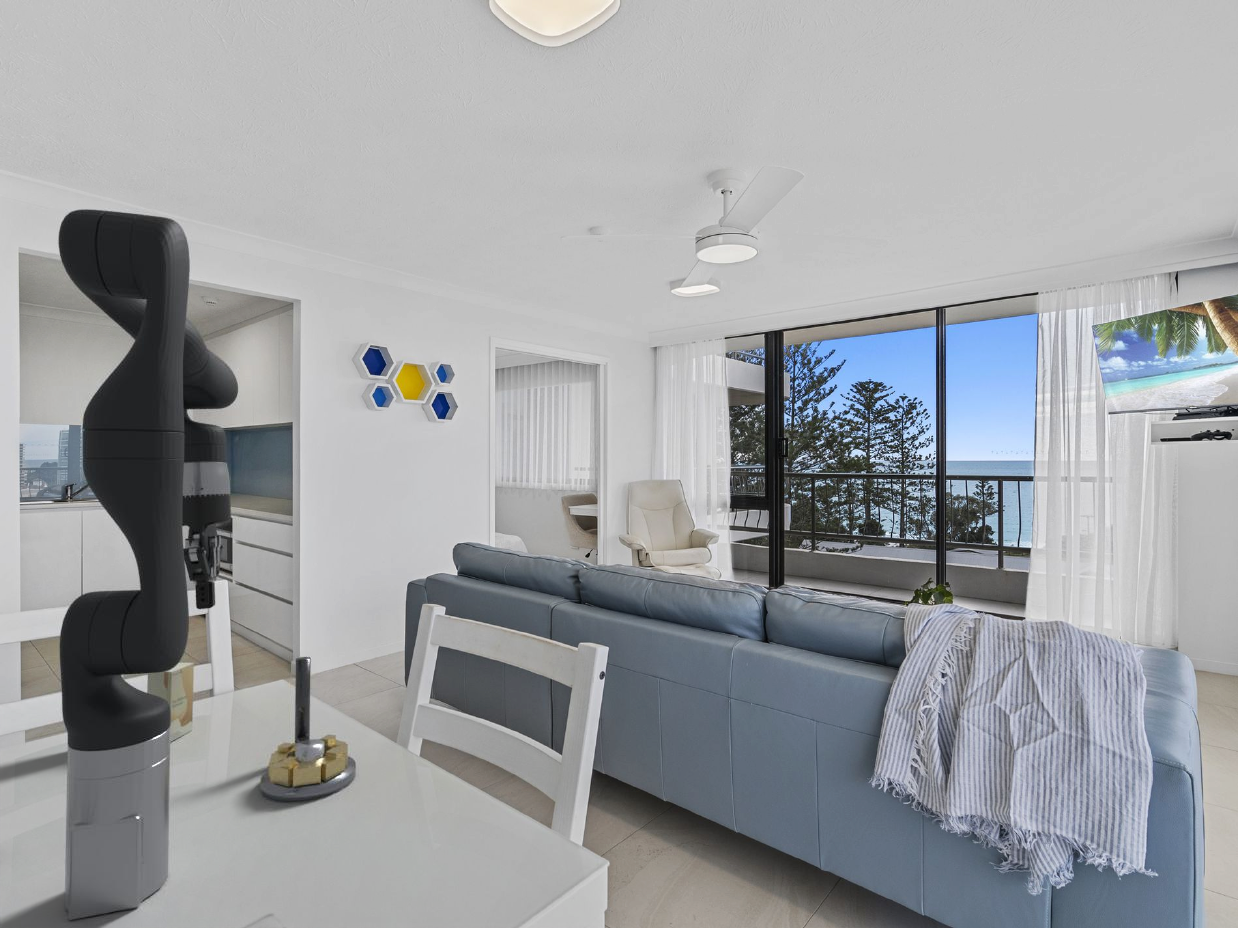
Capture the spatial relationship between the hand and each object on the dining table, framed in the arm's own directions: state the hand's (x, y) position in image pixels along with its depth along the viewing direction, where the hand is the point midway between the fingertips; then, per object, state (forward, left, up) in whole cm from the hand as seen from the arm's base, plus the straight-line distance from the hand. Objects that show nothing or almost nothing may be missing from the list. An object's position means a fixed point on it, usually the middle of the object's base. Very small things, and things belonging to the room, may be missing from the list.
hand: (206, 607), depth 100 cm
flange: (-5, -15, -26) cm, 30 cm away
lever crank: (-3, -15, -24) cm, 29 cm away
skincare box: (+22, +9, -26) cm, 35 cm away
